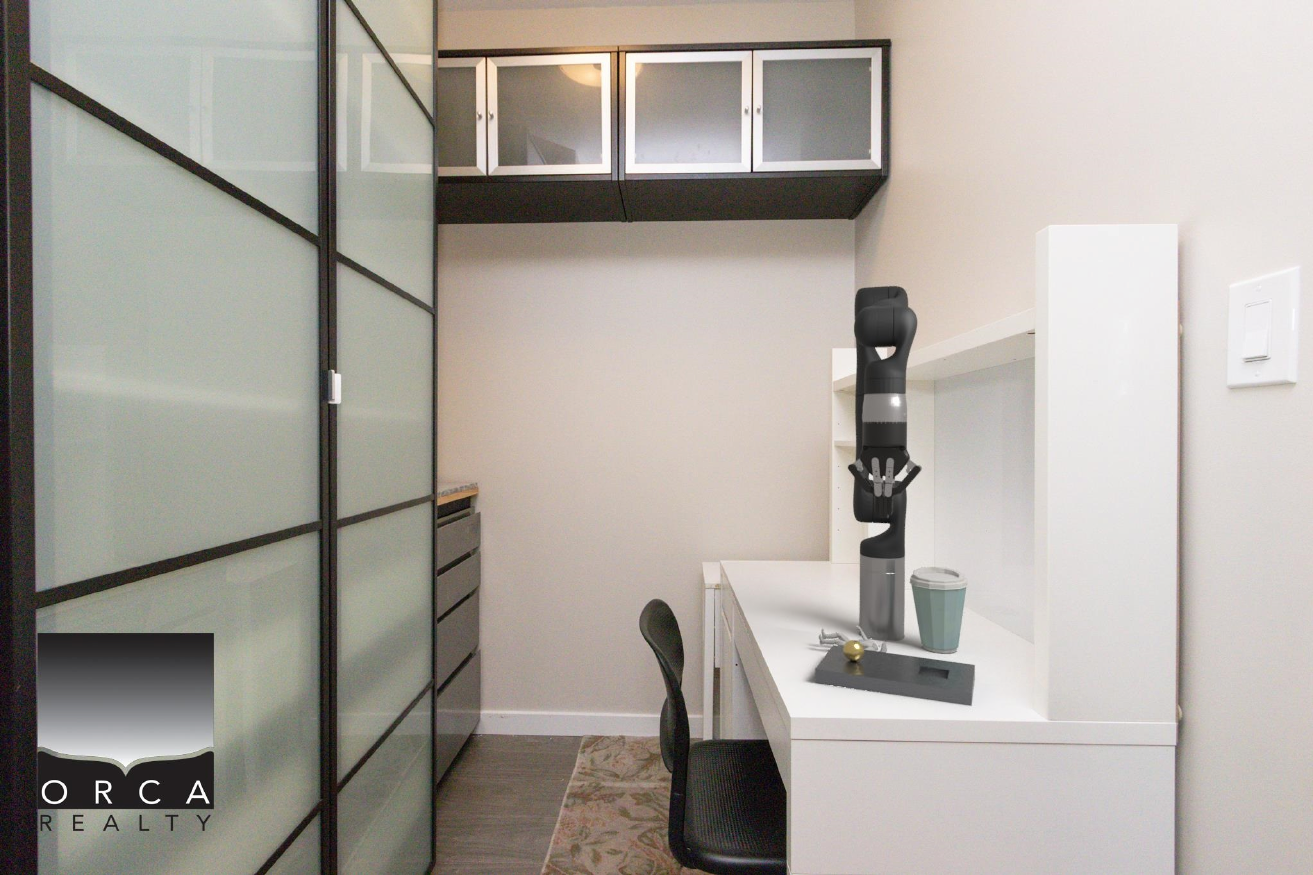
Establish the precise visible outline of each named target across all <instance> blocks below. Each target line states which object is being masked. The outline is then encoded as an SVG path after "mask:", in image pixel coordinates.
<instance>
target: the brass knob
mask: <svg viewBox="0 0 1313 875" xmlns="http://www.w3.org/2000/svg"><path fill="white" fill-rule="evenodd" d="M849 640H850V641H848V642H847V643H846V644H845V645H844V648H843V652H844V655H845V657H846V658H847V659H849V660H851V661H858V660H860V659H861V658H862V657H863V655H864V648H863V646H862V644H861V643H860V642H858V641H855V640H856V639H849Z"/></svg>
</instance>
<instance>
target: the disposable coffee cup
mask: <svg viewBox="0 0 1313 875" xmlns="http://www.w3.org/2000/svg"><path fill="white" fill-rule="evenodd" d="M912 571H913V572H912V574H911V576H910V578H909V584H910V586H911V590H912V596H913V603H914V608H915V613H916V620H917V626H918V633H919V637H920V643H921V645H922V648H923V649H925V651H928V652H932V653H937V654H952V653H955V652H957V650H958V648H959V643H960V636H961V629H962V624H963V622H962V621H963V616H964V615H963V614H964V607H965V599H966V592H967V588H968V587H969V586H968V585H969V584H968V578H966V577H965V573H962V572H960V571H958V570H957V569H952V568H948V567H939V566H937V567H936V566H934V567H933V566H927V567H926V566H925V567H920V568H916V569H913V570H912Z"/></svg>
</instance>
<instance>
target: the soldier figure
mask: <svg viewBox="0 0 1313 875" xmlns="http://www.w3.org/2000/svg"><path fill="white" fill-rule="evenodd" d="M856 629H857V630H858V632H859V631H860V632H861V633H859V635H860V636H861V638H860V639H854V640H855V641H858V642H860V643H861V644H862V646H863V648H864V650H871V651H878V652H885V653H888V648H887V644H886V642H885V641H884V640H883V643H882V644H878V645H877V644H876V643H875V642H874V641H873V640H871V639H869V638H867V637H866V636H865V634H864V632H863V631H862V629H861V628H860V627H859V624H858V625H856ZM818 639H819V645H821V646H822V645H832V646H833V645H835V646H842V647H844V645H845V644H846V643H847V642H848V641H850V640H851V639H850V638H849V637H848V636H846V635H845V634H844V633H842V632H837V631H836V632H835V633H828V634H826V632H825V629H824V628H822V629H821V631H820V633H819V635H818ZM879 648H880V650H879Z"/></svg>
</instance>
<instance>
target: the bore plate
mask: <svg viewBox="0 0 1313 875" xmlns="http://www.w3.org/2000/svg"><path fill="white" fill-rule="evenodd" d="M843 648H844V647H842V646H838V645H835V644H834V645H832V646H831V647H830V649H828V652H827V653H826V654H825V655H824V657H823V658H822V659H821V661H820V662H819V663H818V665H817V666H816V667H815V670H814V673H815V674H814V682H815V684H816V685H817V684H818V685H825V686H830V685H833V686H832V687H837V686H842V687H841V688H844V687H846V688H845V689H851V688H854V689H853V690H860V691H865V690H867V691H866V692H873V693H879V692H880V693H881V694H886V695H887V694H888V695H894V696H902V697H909V698H914V699H919V700H920V699H923V700H927V701H928V700H929V701H934V702H941V703H948V704H949V703H950V704H956V705H964V706H971V707H972V706H973V697H974V689H975V680H976V679H975V678H976V664H971V663H964V662H957V661H949V660H943V659H935V658H926V657H922V656H921V657H920V656H913V655H907V654H905V655H904V654H898V653H892V652H891V653H890V652H886V653H885V652H879V650H877V651H871V650H864V655H863V657H862V658H861V659H860V660H858V661H851V660H849V659H847V658H846V657H845V655H844V652H843Z"/></svg>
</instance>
